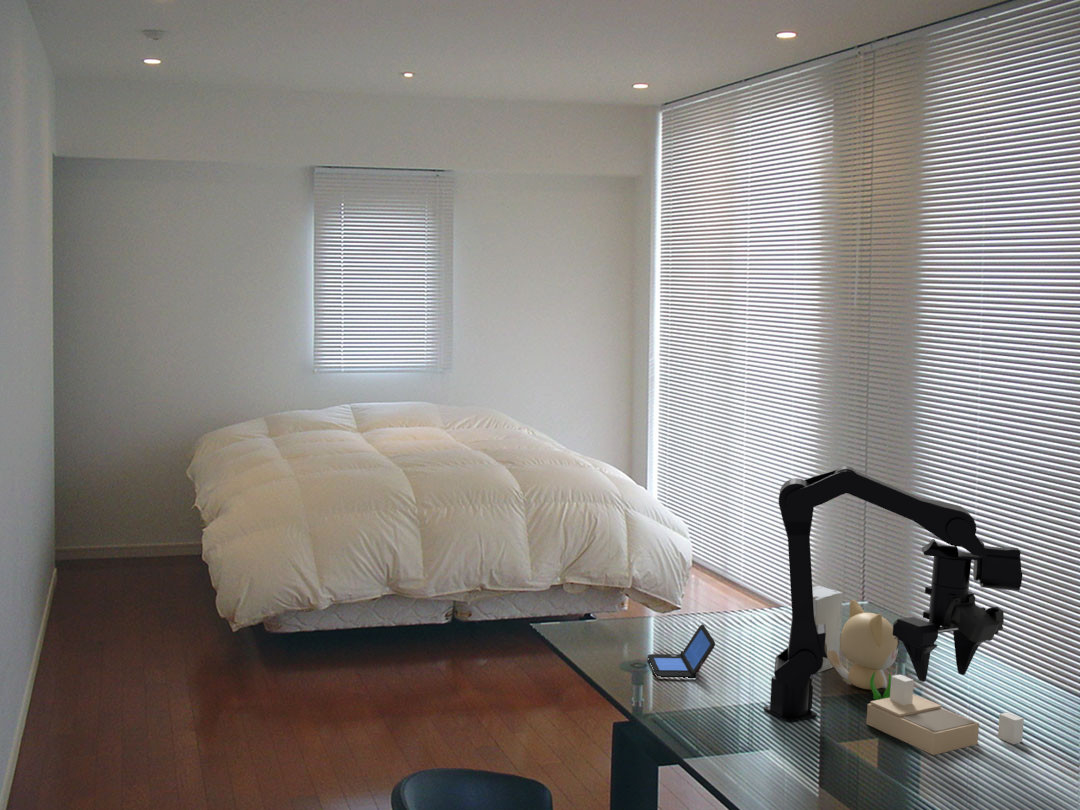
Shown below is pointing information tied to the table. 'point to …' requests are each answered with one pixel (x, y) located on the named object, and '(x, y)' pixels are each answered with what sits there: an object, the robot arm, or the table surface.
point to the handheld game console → (685, 657)
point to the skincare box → (828, 618)
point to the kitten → (866, 650)
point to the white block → (1010, 728)
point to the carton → (926, 729)
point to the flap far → (904, 698)
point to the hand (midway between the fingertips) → (941, 677)
